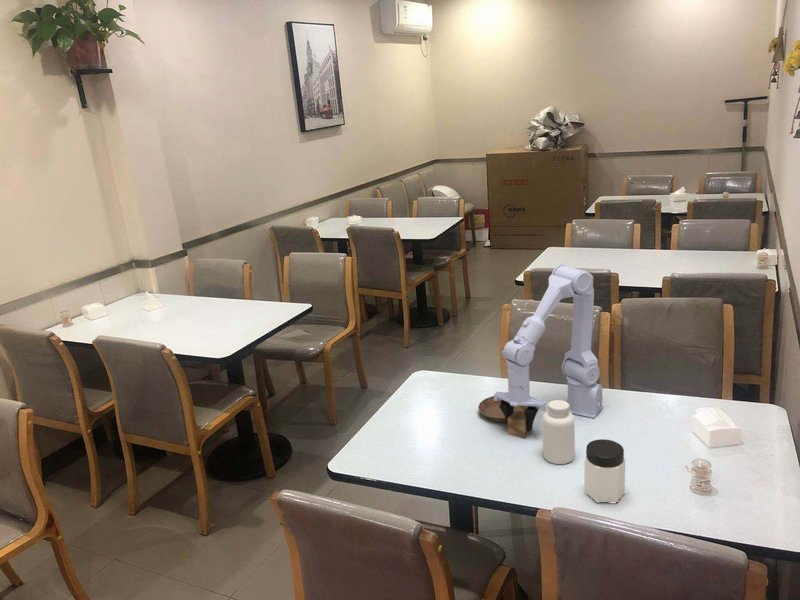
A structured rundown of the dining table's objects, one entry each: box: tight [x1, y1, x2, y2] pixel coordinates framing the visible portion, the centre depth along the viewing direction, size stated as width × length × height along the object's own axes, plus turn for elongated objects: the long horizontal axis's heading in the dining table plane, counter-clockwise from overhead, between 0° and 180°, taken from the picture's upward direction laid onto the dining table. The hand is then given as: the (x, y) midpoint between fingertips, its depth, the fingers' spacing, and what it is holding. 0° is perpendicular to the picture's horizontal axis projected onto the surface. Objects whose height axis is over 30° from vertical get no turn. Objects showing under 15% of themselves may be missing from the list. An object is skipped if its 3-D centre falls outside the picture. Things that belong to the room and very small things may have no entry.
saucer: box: [478, 395, 528, 423], centre depth 187 cm, size 15×15×3 cm
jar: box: [583, 438, 626, 503], centre depth 145 cm, size 9×8×12 cm
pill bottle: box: [541, 399, 576, 465], centre depth 161 cm, size 8×8×15 cm
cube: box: [507, 411, 533, 439], centre depth 176 cm, size 5×5×5 cm
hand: (520, 427), depth 176 cm, fingers closed on cube, 5 cm apart
